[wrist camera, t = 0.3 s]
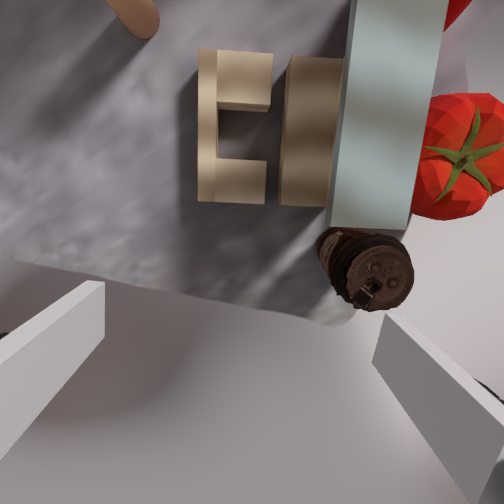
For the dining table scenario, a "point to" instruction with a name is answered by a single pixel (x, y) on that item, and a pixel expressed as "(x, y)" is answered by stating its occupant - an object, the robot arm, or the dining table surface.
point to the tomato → (459, 156)
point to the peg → (137, 16)
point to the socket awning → (332, 117)
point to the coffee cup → (366, 267)
